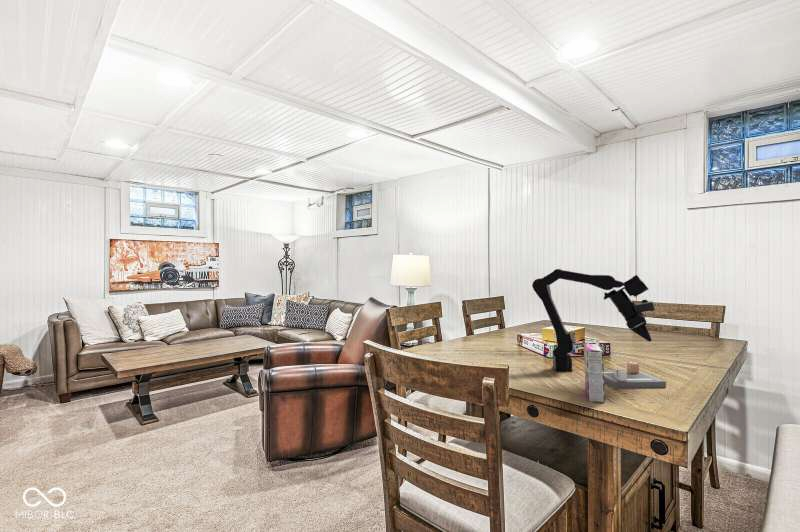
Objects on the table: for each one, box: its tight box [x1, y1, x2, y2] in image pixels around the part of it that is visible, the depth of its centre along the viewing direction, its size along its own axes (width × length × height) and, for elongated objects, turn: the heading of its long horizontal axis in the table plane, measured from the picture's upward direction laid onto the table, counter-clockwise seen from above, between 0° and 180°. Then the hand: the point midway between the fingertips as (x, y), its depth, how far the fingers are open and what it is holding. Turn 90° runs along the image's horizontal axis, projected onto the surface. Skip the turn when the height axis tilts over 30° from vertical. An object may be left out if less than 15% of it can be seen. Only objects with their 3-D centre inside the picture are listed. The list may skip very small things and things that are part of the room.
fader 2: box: [626, 361, 640, 373], centre depth 152 cm, size 2×4×3 cm
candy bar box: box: [583, 343, 606, 404], centre depth 131 cm, size 11×5×16 cm, turn 160°
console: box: [604, 369, 667, 389], centre depth 147 cm, size 18×16×2 cm
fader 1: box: [614, 368, 627, 381], centre depth 142 cm, size 2×4×3 cm
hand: (649, 338), depth 150 cm, fingers open, 9 cm apart
